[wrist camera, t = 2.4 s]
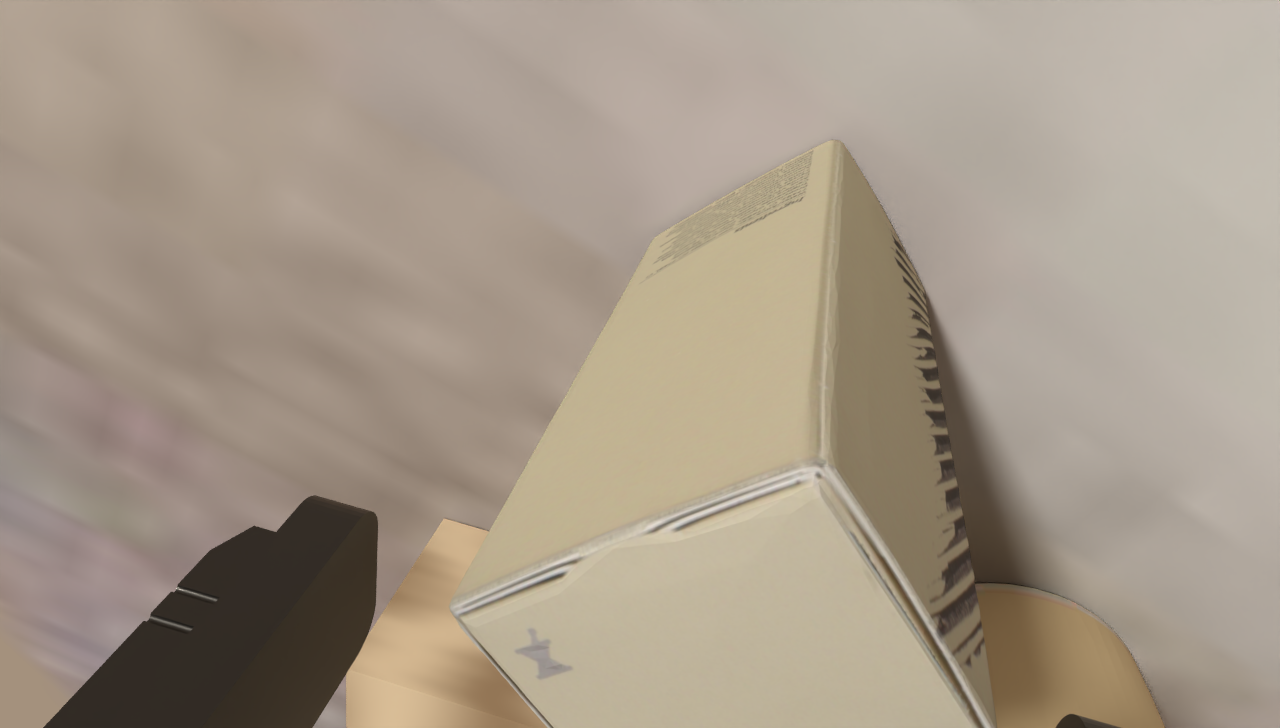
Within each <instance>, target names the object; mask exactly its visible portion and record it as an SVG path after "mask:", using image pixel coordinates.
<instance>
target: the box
mask: <svg viewBox="0 0 1280 728" xmlns="http://www.w3.org/2000/svg"><path fill="white" fill-rule="evenodd" d="M925 299H926V297H925V291H924V288H923V286H922V284H921V282H920V280H919V278H918V276H917V274H916V272H915V270H914V268H913V266H912V264H911V262H910V260H909V258H908V256H907V254H906V252H905V250H904V248H903V246H902V245H901V243H900V241H899V239H898V237H897V235H896V233H895V231H894V229H893V227H892V225H891V223H890V221H889V220H888V218H887V216H886V214H885V212H884V210H883V208H882V207H881V205H880V203H879V201H878V199H877V198H876V196H875V194H874V193H873V191H872V189H871V187H870V186H869V184H868V182H867V181H866V179H865V177H864V176H863V174H862V172H861V171H860V169H859V168H858V166H857V164H856V163H855V161H854V159H853V158H852V156H851V155H850V153H849V151H848V150H847V148H846V147H845V145H844V144H843V143H842V142H841V141H839V140H830V141H828V142H826V143H823V144H821V145H819V146H817V147H815V148H813V149H811V150H809V151H807V152H805V153H803V154H801V155H799V156H797V157H795V158H793V159H792V160H790V161H788V162H786V163H784V164H782V165H780V166H778V167H777V168H775V169H773V170H771V171H769V172H767V173H766V174H764V175H762V176H760V177H758V178H756V179H755V180H753V181H751V182H749V183H747V184H745V185H744V186H742V187H740V188H738V189H736V190H735V191H733V192H731V193H729V194H728V195H726V196H724V197H722V198H721V199H719V200H717V201H715V202H713V203H712V204H710V205H708V206H707V207H705V208H703V209H701V210H700V211H698V212H696V213H695V214H693V215H691V216H689V217H688V218H686V219H684V220H683V221H681V222H679V223H678V224H676V225H674V226H672V227H671V228H669V229H667V230H666V231H664V232H662V233H661V234H659V235H658V236H656V237H655V238H654V239H653V240H652V242H651V244H650V246H649V248H648V249H647V251H646V253H645V255H644V256H643V258H642V260H641V262H640V264H639V266H638V268H637V269H636V271H635V273H634V275H633V276H632V278H631V280H630V282H629V284H628V286H627V288H626V290H625V291H624V293H623V295H622V297H621V298H620V300H619V302H618V304H617V305H616V307H615V309H614V311H613V313H612V314H611V316H610V318H609V320H608V322H607V323H606V325H605V327H604V329H603V330H602V332H601V334H600V336H599V337H598V339H597V341H596V343H595V344H594V346H593V348H592V350H591V351H590V353H589V355H588V357H587V359H586V360H585V362H584V364H583V366H582V367H581V369H580V371H579V373H578V374H577V376H576V378H575V380H574V382H573V383H572V385H571V387H570V389H569V391H568V393H567V394H566V396H565V398H564V400H563V401H562V403H561V405H560V406H559V408H558V410H557V412H556V413H555V415H554V417H553V419H552V420H551V422H550V424H549V426H548V427H547V429H546V431H545V433H544V435H543V436H542V438H541V440H540V442H539V443H538V445H537V447H536V449H535V451H534V452H533V454H532V456H531V458H530V460H529V461H528V463H527V465H526V467H525V469H524V471H523V473H522V474H521V476H520V478H519V479H518V481H517V483H516V485H515V487H514V488H513V490H512V492H511V494H510V496H509V497H508V499H507V501H506V503H505V505H504V506H503V508H502V510H501V512H500V513H499V515H498V517H497V519H496V521H495V522H494V524H493V526H492V528H491V529H490V531H489V533H488V535H487V536H486V538H485V540H484V541H483V543H482V545H481V547H480V549H479V551H478V552H477V554H476V556H475V558H474V559H473V561H472V563H471V565H470V566H469V568H468V570H467V572H466V573H465V575H464V577H463V579H462V581H461V583H460V585H459V587H458V589H457V590H456V592H455V594H454V595H453V597H452V599H451V602H450V605H449V608H450V612H451V613H452V615H453V616H454V617H455V619H456V621H457V622H458V624H459V626H460V627H461V629H462V630H463V631H464V632H465V633H466V635H467V636H468V637H469V638H470V639H471V640H472V642H473V643H474V644H475V645H476V646H477V647H478V649H479V650H480V651H481V652H482V653H483V654H484V655H485V656H486V657H487V658H488V659H489V661H490V662H491V663H492V664H493V665H494V666H495V667H496V669H497V670H498V671H499V672H500V674H501V675H502V676H503V677H504V678H505V679H506V680H507V682H508V683H509V684H510V685H511V686H512V687H513V689H514V690H515V691H516V692H517V693H518V694H519V696H520V697H521V698H522V699H523V700H524V701H525V703H526V704H527V705H528V706H529V707H530V708H531V710H532V711H533V712H534V713H535V714H536V715H537V716H538V718H539V719H540V720H541V721H542V722H543V723H544V724H545V725H546V727H547V728H997V722H996V713H995V707H994V701H993V695H992V689H991V681H990V674H989V666H988V659H987V652H986V646H985V640H984V634H983V629H982V623H981V616H980V609H979V602H978V598H977V593H976V588H975V577H974V573H973V569H972V565H971V556H970V551H969V543H968V539H967V535H966V530H965V523H964V516H963V512H962V507H961V503H960V496H959V488H958V484H957V480H956V475H955V469H954V463H953V458H952V454H951V449H950V441H949V436H948V430H947V425H946V419H945V411H944V406H943V401H942V394H941V388H940V383H939V378H938V369H937V364H936V358H935V351H934V347H933V341H932V335H931V328H930V323H929V315H928V312H927V304H926V301H925Z"/></svg>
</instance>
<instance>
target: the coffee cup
mask: <svg viewBox="0 0 1280 728" xmlns="http://www.w3.org/2000/svg"><path fill="white" fill-rule="evenodd" d="M975 588H976V593H977V598H978V602H979V609H980V616H981V623H982V629H983V634H984V640H985V646H986V652H987V659H988V666H989V674H990V681H991V689H992V695H993V701H994V707H995V713H996V722H997V728H1056V726H1057V725H1058V723H1059V722H1060V720H1061V719H1062V718H1063V717H1065V716H1066V715H1068V714H1075V715H1079V716H1082V717H1086V718H1089V719H1093V720H1096V721H1100V722H1103V723H1107V724H1110V725H1114V726H1117V727H1121V728H1165V726H1164V724H1163V722H1162V719H1161V717H1160V715H1159V712H1158V710H1157V708H1156V705H1155V703H1154V701H1153V699H1152V696H1151V694H1150V692H1149V690H1148V688H1147V686H1146V684H1145V682H1144V680H1143V678H1142V676H1141V673H1140V671H1139V669H1138V667H1137V665H1136V663H1135V661H1134V659H1133V657H1132V655H1131V654H1130V652H1129V650H1128V648H1127V647H1126V646H1125V644H1124V643H1123V641H1122V640H1121V639H1120V637H1119V636H1118V635H1117V634H1116V633H1115V632H1114V631H1113V630H1112V628H1111V627H1109V626H1108V625H1107V624H1106V623H1105V622H1103V621H1102V620H1101V619H1100V618H1099V617H1097V616H1096V615H1095V614H1093V613H1092V612H1090V611H1089V610H1087V609H1085V608H1083V607H1082V606H1080V605H1078V604H1076V603H1074V602H1073V601H1070V600H1068V599H1066V598H1063V597H1061V596H1058V595H1055V594H1052V593H1048V592H1045V591H1042V590H1039V589H1035V588H1031V587H1024V586H1018V585H1012V584H998V583H979V584H975Z"/></svg>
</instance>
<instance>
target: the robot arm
mask: <svg viewBox="0 0 1280 728" xmlns="http://www.w3.org/2000/svg"><path fill="white" fill-rule="evenodd" d="M377 540H378V520H377V516H376V514H375V513H374V512H372V511H368V510H365V509H361V508H357V507H354V506H350V505H347V504H343V503H340V502H336V501H333V500H329V499H326V498H322V497H319V496H315V495H314V496H310V497H308V498H307V499H305V500H304V501H303V502H302V503H301V504H300V505H299V506H298V508H297V509H296V510H295V511H294V512H293V513H292V514H291V516H290V517H289V518H288V519H287V520H286V521H285V523H284V524H283V525H282V526H281V527H280V528H279V529H278V531H277V532H274V531H270V530H267V529H263V528H260V527H256V526H253V527H251V528H249V529H248V530H246V531H244V532H242V533H240V534H239V535H237V536H235V537H233V538H231V539H230V540H228V541H226V542H224V543H222V544H221V545H219V546H217V547H215V548H213V549H212V550H210V551H209V552H208V553H207V554H206V555H205V556H204V557H203V558H202V559H201V560H200V562H199V563H198V564H197V565H196V566H195V567H194V568H193V569H192V570H191V571H190V572H189V573H188V574H187V575H186V576H185V577H184V579H183V580H182V581H181V582H180V583H179V584H178V587H177V589H176V591H175V592H170V593H169V595H168V596H167V597H166V598H165V599H164V600H163V601H162V602H161V603H160V604H159V605H158V606H157V607H156V608H155V609H154V610H153V612H152V613H151V616H150V618H149V620H148V621H147V622H146V621H143V622H142V623H141V624H140V625H139V626H138V627H137V629H136V630H135V631H134V632H133V633H132V634H131V635H130V636H129V637H128V638H127V639H126V640H125V641H124V642H123V643H122V644H121V646H120V647H119V648H118V649H117V650H116V651H115V652H114V653H113V654H112V655H111V656H110V657H109V658H108V659H107V660H106V662H105V663H104V664H103V665H102V666H101V667H100V668H99V669H98V670H97V671H96V672H95V673H94V674H93V675H92V676H91V677H90V679H89V680H88V681H87V682H86V683H85V684H84V685H83V686H82V687H81V688H80V689H79V690H78V691H77V692H76V693H75V694H74V696H73V697H72V698H71V699H70V700H69V701H68V702H67V703H66V704H65V705H64V706H63V707H62V708H61V709H60V711H59V712H58V713H57V714H56V715H55V716H54V717H53V718H52V719H51V720H50V721H49V722H48V723H47V724H46V725H45V726H44V727H43V728H312V727H313V726H314V724H315V723H316V721H317V719H318V718H319V716H320V715H321V713H322V711H323V710H324V708H325V707H326V705H327V704H328V702H329V700H330V699H331V697H332V696H333V694H334V692H335V691H336V689H337V688H338V686H339V684H340V683H341V681H342V680H343V678H344V677H345V675H346V673H347V672H348V670H349V669H350V667H351V665H352V664H353V662H354V661H355V659H356V657H357V656H358V654H359V652H360V650H361V648H362V646H363V644H364V642H365V640H366V637H367V635H368V632H369V629H370V626H371V623H372V620H373V616H374V611H375V605H376V578H377ZM1056 728H1121V727H1117V726H1114V725H1110V724H1107V723H1103V722H1100V721H1096V720H1093V719H1089V718H1086V717H1082V716H1079V715H1075V714H1068V715H1066V716H1065V717H1063V718H1062V719H1061V720H1060V722H1059V723H1058V725H1057V726H1056Z"/></svg>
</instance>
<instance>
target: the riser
mask: <svg viewBox="0 0 1280 728" xmlns="http://www.w3.org/2000/svg"><path fill="white" fill-rule="evenodd" d="M488 533H489V531H486V530H482V529H479V528H475V527H472V526H468V525H465V524H462V523H458V522H455V521H451V520H448V519H443V521H442V522H441V524H440V525H439V527H438V529H437V530H436V532H435V533H434V535H433V536H432V538H431V539H430V541H429V542H428V544H427V545H426V547H425V548H424V550H423V552H422V553H421V555H420V556H419V558H418V559H417V561H416V562H415V564H414V565H413V567H412V568H411V570H410V572H409V573H408V575H407V576H406V578H405V579H404V581H403V582H402V584H401V585H400V587H399V588H398V590H397V592H396V593H395V595H394V596H393V598H392V599H391V601H390V602H389V604H388V605H387V607H386V608H385V610H384V611H383V613H382V615H381V616H380V618H379V619H378V621H377V622H376V624H375V625H374V627H373V628H372V630H371V631H370V633H369V635H368V636H367V638H366V640H365V642H364V644H363V646H362V648H361V650H360V652H359V654H358V656H357V657H356V659H355V661H354V662H353V664H352V665H351V667H350V669H349V670H348V672H347V673H346V728H547V727H546V725H545V724H544V723H543V722H542V721H541V720H540V719H539V718H538V716H537V715H536V714H535V713H534V712H533V711H532V710H531V708H530V707H529V706H528V705H527V704H526V703H525V701H524V700H523V699H522V698H521V697H520V696H519V694H518V693H517V692H516V691H515V690H514V689H513V687H512V686H511V685H510V684H509V683H508V682H507V680H506V679H505V678H504V677H503V676H502V675H501V674H500V672H499V671H498V670H497V669H496V667H495V666H494V665H493V664H492V663H491V662H490V661H489V659H488V658H487V657H486V656H485V655H484V654H483V653H482V652H481V651H480V650H479V649H478V647H477V646H476V645H475V644H474V643H473V642H472V640H471V639H470V638H469V637H468V636H467V635H466V633H465V632H464V631H463V630H462V629H461V627H460V626H459V624H458V622H457V621H456V619H455V617H454V616H453V615H452V613H451V612H450V608H449V605H450V602H451V599H452V597H453V595H454V594H455V592H456V590H457V589H458V587H459V585H460V583H461V581H462V579H463V577H464V575H465V573H466V572H467V570H468V568H469V566H470V565H471V563H472V561H473V559H474V558H475V556H476V554H477V552H478V551H479V549H480V547H481V545H482V543H483V541H484V540H485V538H486V536H487V535H488Z"/></svg>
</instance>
